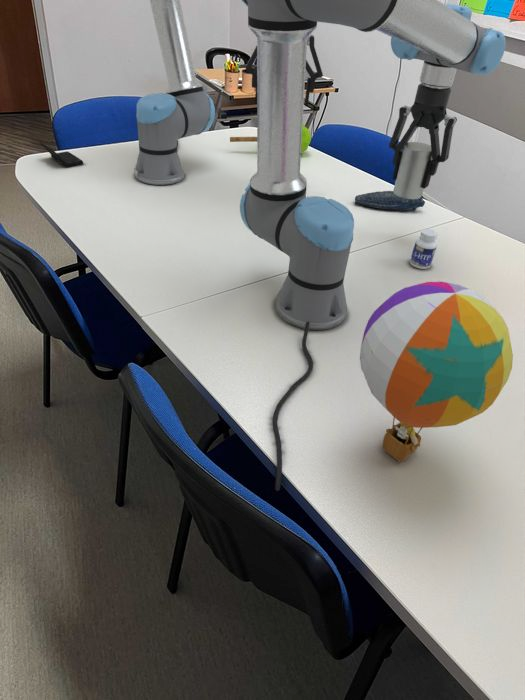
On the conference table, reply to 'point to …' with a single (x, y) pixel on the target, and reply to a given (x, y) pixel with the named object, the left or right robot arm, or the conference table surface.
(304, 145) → the decorative tree
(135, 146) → the conference table surface
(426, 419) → the toy
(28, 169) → the conference table surface
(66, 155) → the black handled piece
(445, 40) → the right robot arm
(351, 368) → the conference table surface
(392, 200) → the fish model
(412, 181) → the can
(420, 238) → the pill bottle
